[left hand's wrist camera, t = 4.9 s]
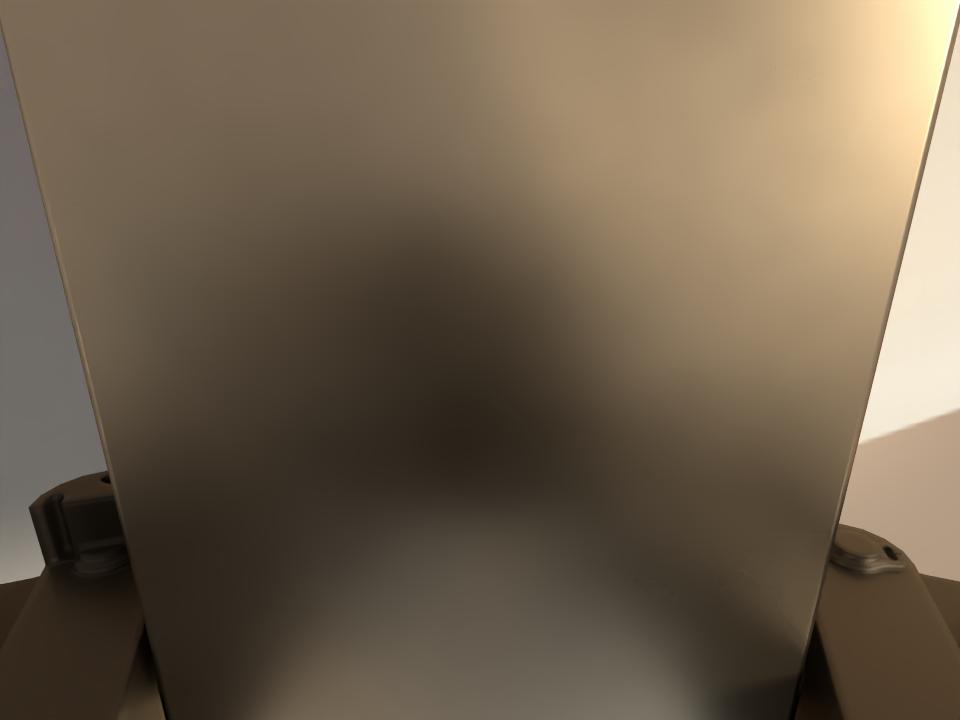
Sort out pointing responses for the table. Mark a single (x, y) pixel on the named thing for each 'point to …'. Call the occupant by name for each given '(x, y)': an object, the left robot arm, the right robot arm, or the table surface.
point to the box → (479, 333)
